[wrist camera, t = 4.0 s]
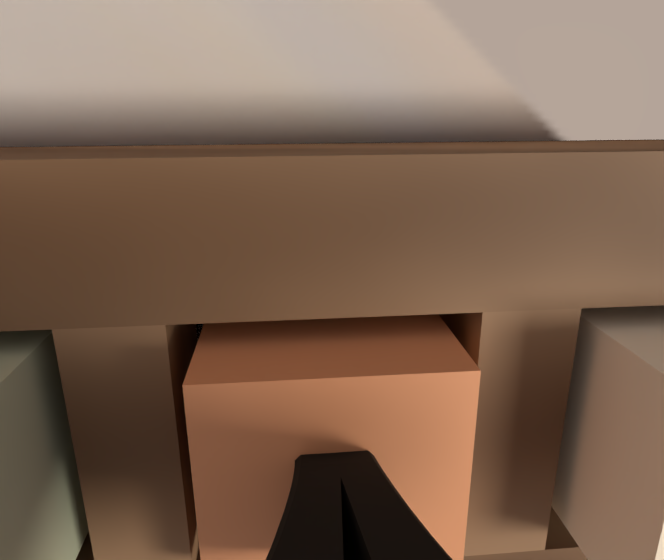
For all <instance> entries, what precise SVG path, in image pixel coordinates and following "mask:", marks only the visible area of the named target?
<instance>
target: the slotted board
mask: <svg viewBox="0 0 664 560" xmlns="http://www.w3.org/2000/svg"><path fill="white" fill-rule="evenodd" d="M656 305H664V140H590V141H501V142H413V143H325V144H237V145H150V146H62V147H0V332H2V331H27V330H52V334H53V339H54V344H55V350H56V355H57V361H58V366H59V371H60V377H61V382H62V388H63V393H64V399H65V404H66V409H67V415H68V420H69V426H70V431H71V436H72V442H73V447H74V453H75V458H76V464H77V469H78V474H79V480H80V485H81V491H82V496H83V501H84V507H85V512H86V518H87V523H88V528H89V531H88V533H87V536H86V538H85V540H84V542H83V545H82V547H81V549H80V551H79V553H78V556H77V558H76V560H201V559H200V549H199V540H198V530H197V521H196V511H195V501H194V492H193V482H192V473H191V463H190V454H189V444H188V435H187V425H186V416H185V406H184V397H183V387H182V385H183V382H184V379H185V376H186V373H187V371H188V368H189V365H190V362H191V359H192V356H193V353H194V351H195V348H196V345H197V334H196V324H203V323H228V322H254V321H279V320H304V319H329V318H354V317H379V316H405V315H430V314H439V316H440V317H441V318H442V320H443V321H444V322H445V324H446V325H447V326H448V328H449V329H450V330H451V332H452V333H453V334H454V336H455V337H456V338H457V340H458V341H459V342H460V344H461V345H462V346H463V348H464V349H465V350H466V352H467V353H468V354H469V356H470V357H471V358H472V359H473V361H474V362H475V363H476V365H477V366H478V367H479V369H480V370H481V376H480V386H479V397H478V408H477V419H476V430H475V440H474V451H473V462H472V473H471V484H470V494H469V505H468V516H467V527H466V538H465V548H464V559H463V560H588V559H587V558H586V556H585V555H584V553H583V552H582V551H581V549H580V548H579V546H578V545H577V543H576V542H575V540H574V539H573V537H572V536H571V534H570V533H569V531H568V530H567V528H566V527H565V525H564V524H563V522H562V521H561V519H560V518H559V516H558V515H557V514H556V512H555V511H554V509H553V508H552V499H553V493H554V486H555V480H556V473H557V466H558V460H559V453H560V447H561V440H562V434H563V427H564V420H565V414H566V407H567V401H568V394H569V388H570V381H571V375H572V368H573V361H574V355H575V348H576V342H577V335H578V329H579V322H580V315H581V309H582V308H606V307H631V306H656Z"/></svg>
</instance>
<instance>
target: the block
mask: <svg viewBox="0 0 664 560" xmlns="http://www.w3.org/2000/svg"><path fill="white" fill-rule="evenodd" d="M88 531H89V528H88V523H87V518H86V512H85V507H84V501H83V496H82V491H81V485H80V480H79V474H78V469H77V464H76V458H75V453H74V447H73V442H72V436H71V431H70V426H69V420H68V415H67V409H66V404H65V399H64V393H63V388H62V382H61V377H60V371H59V366H58V361H57V355H56V350H55V344H54V339H53V334H52V330H27V331H2V332H0V560H76V558H77V556H78V553H79V551H80V549H81V547H82V545H83V542H84V540H85V538H86V536H87V533H88Z"/></svg>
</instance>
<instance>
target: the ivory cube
mask: <svg viewBox="0 0 664 560" xmlns="http://www.w3.org/2000/svg"><path fill="white" fill-rule="evenodd" d="M552 508H553V509H554V511H555V512H556V514H557V515H558V516H559V518H560V519H561V521H562V522H563V524H564V525H565V527H566V528H567V530H568V531H569V533H570V534H571V536H572V537H573V539H574V540H575V542H576V543H577V545H578V546H579V548H580V549H581V551H582V552H583V553H584V555H585V556H586V558H587V559H588V560H664V305H656V306H631V307H606V308H582V309H581V315H580V322H579V329H578V335H577V342H576V348H575V355H574V361H573V368H572V375H571V381H570V388H569V394H568V401H567V407H566V414H565V420H564V427H563V434H562V440H561V447H560V453H559V460H558V466H557V473H556V480H555V486H554V493H553V499H552Z"/></svg>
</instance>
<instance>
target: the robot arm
mask: <svg viewBox="0 0 664 560" xmlns="http://www.w3.org/2000/svg"><path fill="white" fill-rule="evenodd" d="M266 560H453V559H452V558H451V557H450V556H449V555H448V554H447V553H446V552H445V550H444V549H443V548H442V547H441V546H440V545H439V543H438V542H437V541H436V540H435V539H434V537H433V536H432V535H431V534H430V533H429V531H428V530H427V529H426V528H425V526H424V525H423V524H422V523H421V521H420V520H419V519H418V518H417V516H416V515H415V514H414V513H413V511H412V510H411V509H410V507H409V506H408V505H407V503H406V502H405V501H404V499H403V498H402V497H401V495H400V494H399V492H398V491H397V490H396V488H395V487H394V486H393V484H392V483H391V481H390V480H389V478H388V477H387V475H386V474H385V472H384V471H383V469H382V468H381V466H380V465H379V463H378V461H377V460H376V458H375V456H374V455H373V454H372V453H371V452H369V451H368V450H367V451H352V452H336V453H320V454H304V455H300V456H299V457H298V458H297V459H296V460H295V468H294V474H293V480H292V485H291V489H290V492H289V496H288V499H287V503H286V506H285V510H284V512H283V515H282V518H281V521H280V524H279V526H278V529H277V532H276V535H275V538H274V541H273V543H272V546H271V548H270V551H269V553H268V555H267V557H266Z"/></svg>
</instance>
